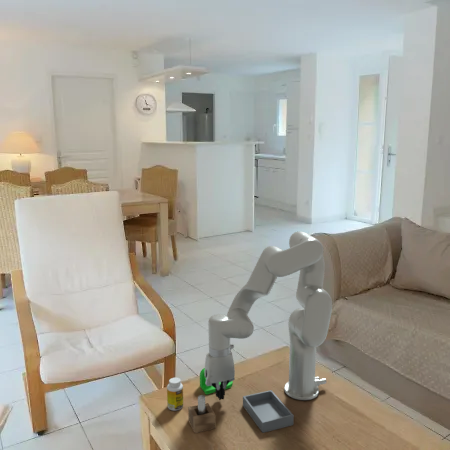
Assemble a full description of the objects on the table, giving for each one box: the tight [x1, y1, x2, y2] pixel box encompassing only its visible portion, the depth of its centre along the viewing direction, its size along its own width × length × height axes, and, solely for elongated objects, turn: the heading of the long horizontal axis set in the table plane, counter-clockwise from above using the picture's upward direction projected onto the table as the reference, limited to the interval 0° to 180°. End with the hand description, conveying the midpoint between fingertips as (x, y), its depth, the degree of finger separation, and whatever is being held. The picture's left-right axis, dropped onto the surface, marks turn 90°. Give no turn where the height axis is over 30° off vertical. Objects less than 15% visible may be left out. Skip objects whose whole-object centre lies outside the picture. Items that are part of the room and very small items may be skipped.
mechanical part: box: [199, 367, 234, 395], centre depth 173 cm, size 12×6×8 cm, turn 114°
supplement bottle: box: [166, 377, 184, 412], centre depth 161 cm, size 6×6×10 cm
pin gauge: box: [197, 394, 206, 415], centre depth 151 cm, size 2×2×10 cm
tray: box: [242, 389, 294, 433], centre depth 157 cm, size 11×16×4 cm
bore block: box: [187, 402, 216, 434], centre depth 152 cm, size 7×7×5 cm
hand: (220, 397), depth 164 cm, fingers closed
